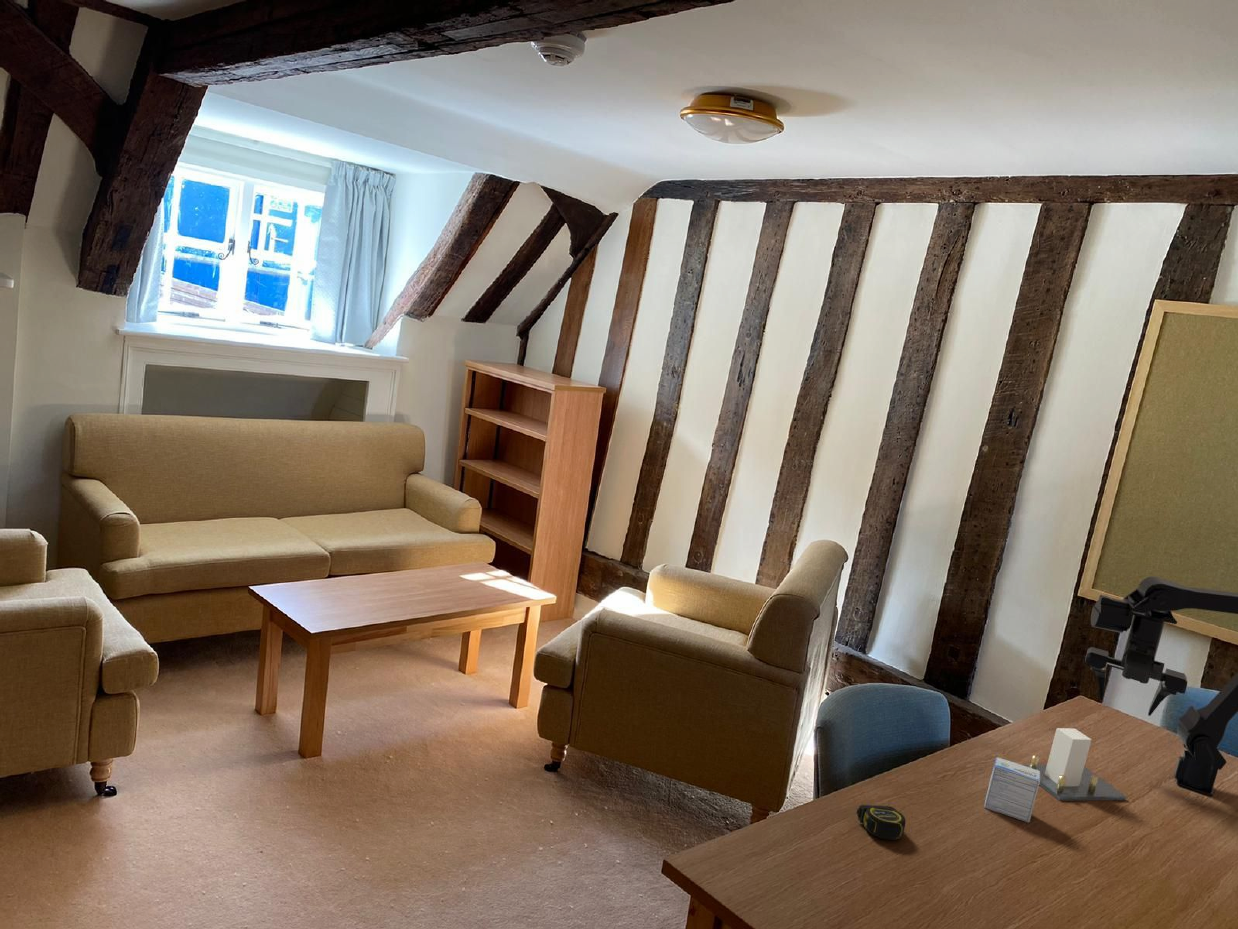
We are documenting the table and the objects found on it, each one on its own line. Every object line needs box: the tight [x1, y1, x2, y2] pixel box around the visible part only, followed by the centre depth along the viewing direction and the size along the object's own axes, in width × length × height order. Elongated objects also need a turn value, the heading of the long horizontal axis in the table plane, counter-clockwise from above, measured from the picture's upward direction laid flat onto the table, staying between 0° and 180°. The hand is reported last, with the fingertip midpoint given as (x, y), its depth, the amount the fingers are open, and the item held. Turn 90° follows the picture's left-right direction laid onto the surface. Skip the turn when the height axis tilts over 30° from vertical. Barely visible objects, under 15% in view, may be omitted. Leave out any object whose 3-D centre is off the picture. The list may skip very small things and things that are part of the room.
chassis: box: [1022, 754, 1128, 802], centre depth 191 cm, size 16×12×4 cm
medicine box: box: [983, 756, 1040, 823], centre depth 175 cm, size 8×4×9 cm, turn 65°
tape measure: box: [856, 804, 906, 841], centre depth 161 cm, size 7×7×4 cm
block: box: [1045, 727, 1092, 786], centre depth 190 cm, size 4×4×10 cm
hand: (1124, 707), depth 201 cm, fingers open, 9 cm apart
